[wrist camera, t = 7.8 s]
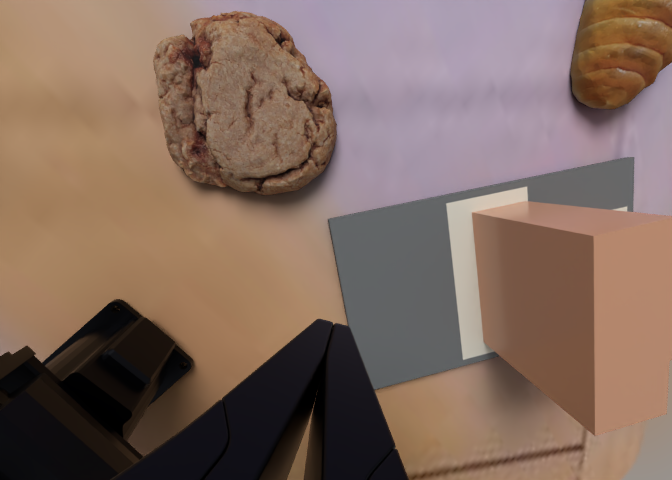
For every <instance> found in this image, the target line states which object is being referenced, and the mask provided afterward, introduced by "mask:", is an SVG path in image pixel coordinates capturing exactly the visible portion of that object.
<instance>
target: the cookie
mask: <svg viewBox="0 0 672 480" xmlns="http://www.w3.org/2000/svg"><path fill="white" fill-rule="evenodd" d="M190 25H191V28H192V33H193V36H192V39H191V40H189V39H188V38H187V37H185V36H184V35H180V36H174V37H169V38H166V39H164V40H162V41H161V42H160V43H159V44H158V45H157V49H156V52H155V55H154V60H153V62H154V70H155V73H156V78H157V86H158V95H159V98H160V99H159V100H158V101H159V109H160V114H161V118H162V122H163V126H164V130H165V138H166V141H167V147H168V150H169V152H170V155H171V157H172V159H173V161H174V162H175V163H176V164H177V165H178V166H180V167H181V168H183V169H184V172H185V173H186V175H187V176H189V177H190V178H191V179H192V180H194V181H196V182H200V183H208V184H211V185H217V186H220V187H226V186H230V187H232V188H234V189H235V190H238V191H240V192H250V191H254V192H256V193H257V194H261V195H272V194H277V193H282V192H289V191H294V190H299V189H301V188H302V187H303V186H305V185H307V184H308V183H309V182H310V181H311V180H312V179H314V178H316V177H317V176H318V175H319V174H321V173H322V172H324V170H325V168H326V165H327V164H328V162H329V161H330V158H331V154H332V151H333V148H334V146H335V142H336V135H337V132H336V126H337V124H336V122H335V119H334V117H333V114H332V113H333V108H332V100H331V93H330V90H329V88H328V86H327V85H326V84H325V82H324V81H323V80H321V79H320V78H319V77H318V76H317V75H316V74H315V73H313V71H312V69H311V68H310V67H309V66H308V65H307V62H306V58H305V57H304V55H303V54H301V53H300V52H299V51H298V50H297V49H296V48H295V45H294V42H293V39H292V37H291V36H290V34H289V33H288V32H287V30H286V29H285V28H283V27H282V26H281V25H279V24H278V23H276V22H274V21H272V20H270V19H268V18H266V17H263V16H257V15H254V14H252V13H247V12H237V11H233V12H231V13H221V15H218V16H214V15H213V16H212V17H211V18H200V19H197V20H194V21H192V22H191V23H190Z"/></svg>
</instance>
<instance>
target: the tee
mask: <svg viewBox="0 0 672 480" xmlns="http://www.w3.org/2000/svg"><path fill="white" fill-rule="evenodd" d="M472 221H473V232H474V242H475V253H476V264H477V275H478V286H479V297H480V308H481V319H482V330H483V341H484V343H485V344H486V345H488V346H489V347H490V348H491V349H492V350H494V351H495V352H496V353H497V354H498V355H499V356H501V357H502V358H503V359H504V360H505V361H507V362H508V363H509V364H510V365H511V366H512V367H514V368H515V369H516V370H517V371H518V372H520V373H521V374H522V375H523V376H524V377H526V378H527V379H528V380H529V381H530V382H531V383H533V384H534V385H535V386H536V387H537V388H539V389H540V390H541V391H542V392H543V393H545V394H546V395H547V396H548V397H549V398H550V399H552V400H553V401H554V402H555V403H556V404H558V405H559V406H560V407H561V408H562V409H564V410H565V411H566V412H567V413H568V414H569V415H571V416H572V417H573V418H574V419H575V420H577V421H578V422H579V423H580V424H581V425H582V426H584V427H585V428H586V429H587V430H588V431H590V432H591V433H592V434H593V435H594V436H597V435H600V434H603V433H606V432H610V431H613V430H616V429H619V428H623V427H626V426H629V425H632V424H636V423H639V422H642V421H645V420H648V419H652V418H655V417H658V416H661V415H665V414H667V398H668V397H667V396H668V377H669V361H670V360H672V216H666V215H656V214H646V213H637V212H627V211H617V210H607V209H598V208H588V207H578V206H569V205H559V204H549V203H539V202H530V201H522V202H518V203H513V204H509V205H504V206H499V207H495V208H490V209H485V210H481V211H476V212H472Z"/></svg>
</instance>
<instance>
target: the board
mask: <svg viewBox="0 0 672 480" xmlns="http://www.w3.org/2000/svg"><path fill="white" fill-rule="evenodd" d="M633 194H634V157H628V158H621V159H617V160H612V161H607V162H602V163H597V164H592V165H587V166H583V167H578V168H573V169H568V170H563V171H558V172H553V173H549V174H544V175H539V176H534V177H529V178H524V179H519V180H515V181H510V182H505V183H500V184H495V185H490V186H485V187H480V188H476V189H471V190H466V191H461V192H456V193H451V194H446V195H442V196H437V197H432V198H427V199H422V200H417V201H412V202H408V203H403V204H398V205H393V206H388V207H383V208H378V209H374V210H369V211H364V212H359V213H354V214H349V215H344V216H340V217H335V218H330V219H328V223H329V228H330V233H331V238H332V244H333V249H334V254H335V259H336V264H337V270H338V275H339V280H340V285H341V291H342V296H343V301H344V306H345V311H346V317H347V322H348V326H349V327H350V328H351V331H352V333H353V336H354V338H355V341H356V344H357V346H358V349H359V351H360V354H361V357H362V359H363V362H364V365H365V367H366V370H367V372H368V375H369V378H370V380H371V383H372V385H373V388H374V390H375V389H379V388H383V387H386V386H390V385H394V384H397V383H401V382H405V381H409V380H412V379H416V378H420V377H424V376H427V375H431V374H435V373H438V372H442V371H446V370H450V369H453V368H457V367H461V366H464V365H468V364H472V363H476V362H479V361H483V360H487V359H491V358H494V357H498V356H499V355H498V354H497V353H496V352H495V351H494V350H492V349H491V348H490V347H489V346H488V345H486V344H485V343H484V341H483V330H482V319H481V308H480V297H479V286H478V275H477V264H476V253H475V242H474V232H473V221H472V212H476V211H481V210H485V209H490V208H495V207H499V206H504V205H509V204H513V203H518V202H522V201H530V202H539V203H549V204H559V205H569V206H578V207H588V208H598V209H607V210H617V211H627V212H633Z"/></svg>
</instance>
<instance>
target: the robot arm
mask: <svg viewBox="0 0 672 480" xmlns="http://www.w3.org/2000/svg"><path fill="white" fill-rule="evenodd" d="M114 305H116V306H118V307H119V308H120V310H116V309H115V308H114ZM332 328H333V329H332ZM35 354H36V353H35V352H34V351H33V350H32V349H31V348H29V347H28V346H25V347H24V348H22V349H21V350H19V351H17V352H16V353H14V354H13V355H12V354H11V353H10V352H9V351H8V352H7V353H5V354H3V355H2V356H0V480H287V477H288V474H289V472H290V469H291V467H292V464H293V461H294V459H295V456H296V453H297V451H298V448H299V445H300V443H301V440H302V438H303V435H304V432H305V430H306V427H307V424H308V422H309V419H310V416H311V413H312V409H313V413H312V418H311V425H310V433H309V441H308V449H307V457H306V465H305V473H304V480H409V478H408V476H407V474H406V471H405V469H404V466H403V463H402V461H401V458H400V456H399V453H398V450H397V449H395V447H396V446H395V443H394V440H393V438H392V435H391V432H390V430H389V427H388V425H387V422H386V419H385V417H384V414H383V412H382V409H381V406H380V404H379V401H378V398H377V396H376V393H375V391H374V388H373V385H372V383H371V380H370V378H369V375H368V372H367V370H366V367H365V365H364V362H363V359H362V357H361V354H360V351H359V349H358V346H357V344H356V341H355V338H354V336H353V333H352V331H351V328H350V327H349V326H346V325H342V324H338V323H335V324H334V325H333V323H332V322H330V321H326V320H322V319H317V320H316V321H314V322H313V323H312V324H311V325H310V326H308V327H307V328H306V329H305V330H304V331H302V332H301V333H300V334H299V335H298V336H296V337H295V338H294V339H293V340H291V341H290V342H289V343H288V344H287V345H285V346H284V347H283V348H282V349H281V350H279V351H278V352H277V353H276V354H275V355H273V356H272V357H271V358H270V359H269V360H267V361H266V362H265V363H264V364H263V365H261V366H260V367H259V368H258V369H257V370H255V371H254V372H253V373H252V374H251V375H249V376H248V377H247V378H246V379H245V380H243V381H242V382H241V383H240V384H239V385H237V386H236V387H235V388H234V389H233V390H231V391H230V392H229V393H228V394H226V395H225V396H224V397H223V398H222V400H219V401H218V402H217V403H215V404H214V405H213V406H212V407H211V408H209V409H208V410H207V411H206V412H205V413H203V414H202V415H201V416H200V417H198V418H197V419H196V420H194V421H193V422H192V423H191V424H189V425H188V426H187V427H186V428H184V429H183V430H182V431H180V432H179V433H178V434H176V435H175V436H173V437H172V438H170V439H169V440H168V441H166V442H165V443H163V444H162V445H160V446H159V447H158V448H156V449H155V450H153V451H152V452H151V453H149V454H148V455H146V456H145V457H143V456H142V455H141V454H140V453H138V452H137V451H136V450H135V449H134V448H133V447H132V446H131V445H130V444H129V443H128V442H127V440H128V438H129V437H130V435H131V433H132V432H133V430H134V429H135V427H136V425H137V424H138V422H139V420H140V419H141V417H142V415H143V414H144V412H145V410H146V409H147V407H148V406H149V405H150V404H151V403H153V402H154V401H155V400H156V399H157V398H158V397H159V396H161V395H162V394H163V393H164V392H165V391H166V390H167V389H169V388H170V387H171V386H172V385H173V384H174V383H175V382H176V381H178V380H179V379H180V378H181V377H182V376H183V375H184V374H186V373H187V372H188V371H189V370H190V369H191V367H192V364H193V360H192V359H191V357H189V356H188V355H187V354H186V353H185V352H184V351H182V350H181V349H180V348H179V347H178V346H176V345H175V342H174V341H173V340H172V339H171V338H169V337H168V336H167V335H166V334H165V333H164V332H162V331H161V330H160V329H159V328H158V327H156V326H155V325H154V324H153V323H152V322H151V321H149V320H148V319H147V318H144V317H142V316H141V315H140V314H139V313H138V312H136V311H135V310H134V309H133V308H132V307H130V306H129V305H128V304H127V303H126V302H125V301H123V300H120V299H116V300H114V301H112V302H110V303H109V304H108V305H107V306H106V307H104V308H103V309H102V310H101V311H100V312H99V313H98V314H97V315H95V316H94V317H93V318H92V319H91V320H90V321H89V322H88V323H86V324H85V325H84V326H83V327H82V328H81V329H80V330H79V331H77V332H76V333H75V334H74V335H73V336H72V337H71V338H69V339H68V340H67V341H66V342H65V343H64V344H63V345H62V346H60V347H59V348H58V349H57V350H56V351H55V352H54V353H53V354H51V355H50V356H49V357H48V358H47V359H46V360H45V361H44V362H42V363H41V362H40V361H39V360H38V359H37V358H36V357H35V356H34V355H35ZM182 362H185V363H186V364H187V366H183V365H182V364H181V363H182ZM316 394H317V395H316ZM315 398H316V399H315ZM314 402H315V403H314ZM313 406H314V408H313Z"/></svg>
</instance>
